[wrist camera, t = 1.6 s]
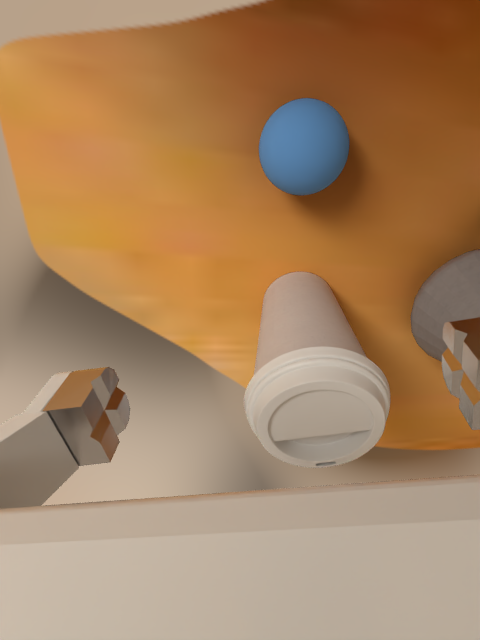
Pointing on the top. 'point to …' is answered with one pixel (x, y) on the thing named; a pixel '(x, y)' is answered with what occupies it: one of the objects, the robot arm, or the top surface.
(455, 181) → the top surface
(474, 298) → the coffee pot
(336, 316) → the coffee cup
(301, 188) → the ball
